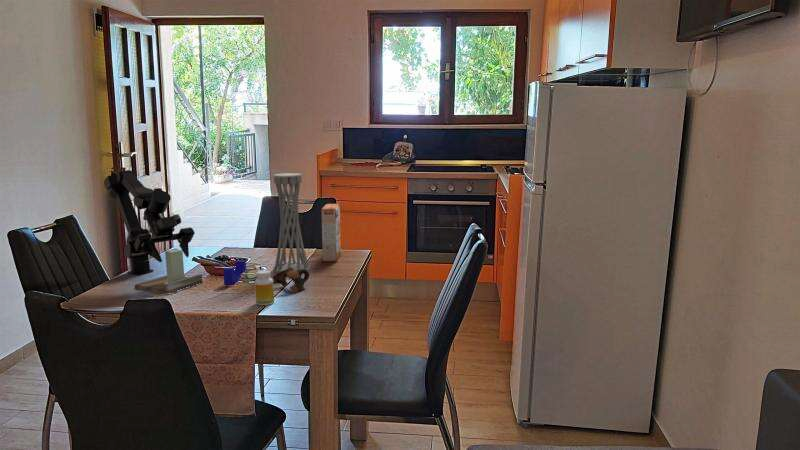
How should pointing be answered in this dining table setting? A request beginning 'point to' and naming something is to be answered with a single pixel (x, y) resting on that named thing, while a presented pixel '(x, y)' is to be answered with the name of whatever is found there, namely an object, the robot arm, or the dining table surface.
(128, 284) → the dining table surface
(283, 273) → the pottery mug
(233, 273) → the blue notched block
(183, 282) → the walnut board
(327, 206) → the cracker box
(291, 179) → the vase
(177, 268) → the sage block
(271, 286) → the supplement bottle
